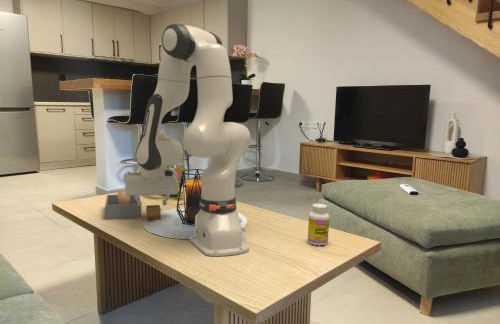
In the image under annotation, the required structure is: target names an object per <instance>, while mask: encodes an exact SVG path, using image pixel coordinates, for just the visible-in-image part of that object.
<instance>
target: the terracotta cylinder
mask: <svg viewBox="0 0 500 324" xmlns="http://www.w3.org/2000/svg"><path fill="white" fill-rule="evenodd" d="M116 195H117V196H118V204H130V196H127V195H126V194H125V190H119V191H117V194H116Z"/></svg>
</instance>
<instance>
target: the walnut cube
mask: <svg viewBox="0 0 500 324" xmlns="http://www.w3.org/2000/svg"><path fill="white" fill-rule="evenodd" d="M145 207H146V210H145V211H146V221H147V222H156V221H155V220H160V221H162V218H161V217H162V215H161V205H160V204H151V205H150V204H148V205H146V206H145Z"/></svg>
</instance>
